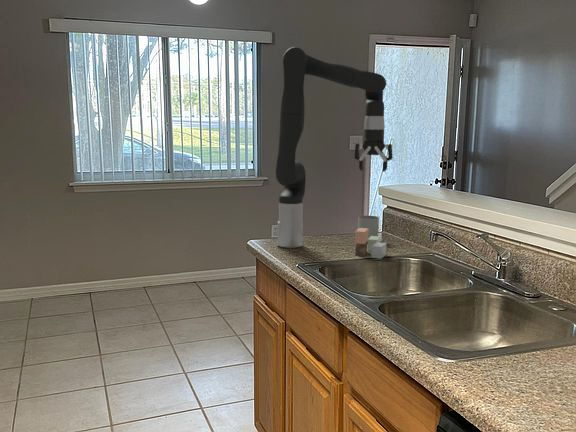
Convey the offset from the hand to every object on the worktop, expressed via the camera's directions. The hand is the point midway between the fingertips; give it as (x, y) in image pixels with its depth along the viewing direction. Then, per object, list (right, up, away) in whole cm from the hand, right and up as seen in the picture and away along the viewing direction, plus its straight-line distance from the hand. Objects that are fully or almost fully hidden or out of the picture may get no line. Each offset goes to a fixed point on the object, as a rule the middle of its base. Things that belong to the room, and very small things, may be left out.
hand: (373, 171), depth 215 cm
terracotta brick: (-5, -27, -7) cm, 28 cm away
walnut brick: (-5, -31, -6) cm, 32 cm away
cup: (0, -28, +16) cm, 32 cm away
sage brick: (0, -30, +1) cm, 30 cm away
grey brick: (+1, -32, -10) cm, 34 cm away
